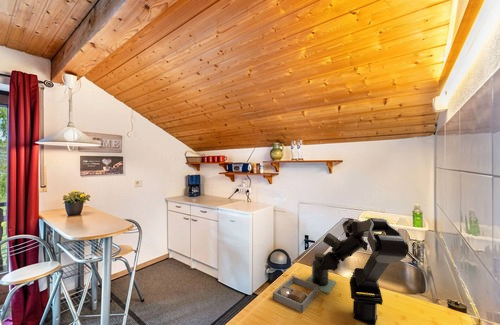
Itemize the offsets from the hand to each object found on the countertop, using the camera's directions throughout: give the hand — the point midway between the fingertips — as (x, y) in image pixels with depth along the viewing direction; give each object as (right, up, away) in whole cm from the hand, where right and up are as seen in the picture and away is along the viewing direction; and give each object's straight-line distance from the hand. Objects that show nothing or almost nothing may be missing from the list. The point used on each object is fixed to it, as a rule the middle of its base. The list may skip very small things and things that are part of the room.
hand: (322, 265), depth 96 cm
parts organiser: (-13, -8, -8) cm, 17 cm away
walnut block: (-14, -8, -13) cm, 21 cm away
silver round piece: (-18, -8, -10) cm, 22 cm away
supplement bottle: (-1, -8, +1) cm, 8 cm away
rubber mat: (-1, -9, +1) cm, 9 cm away
